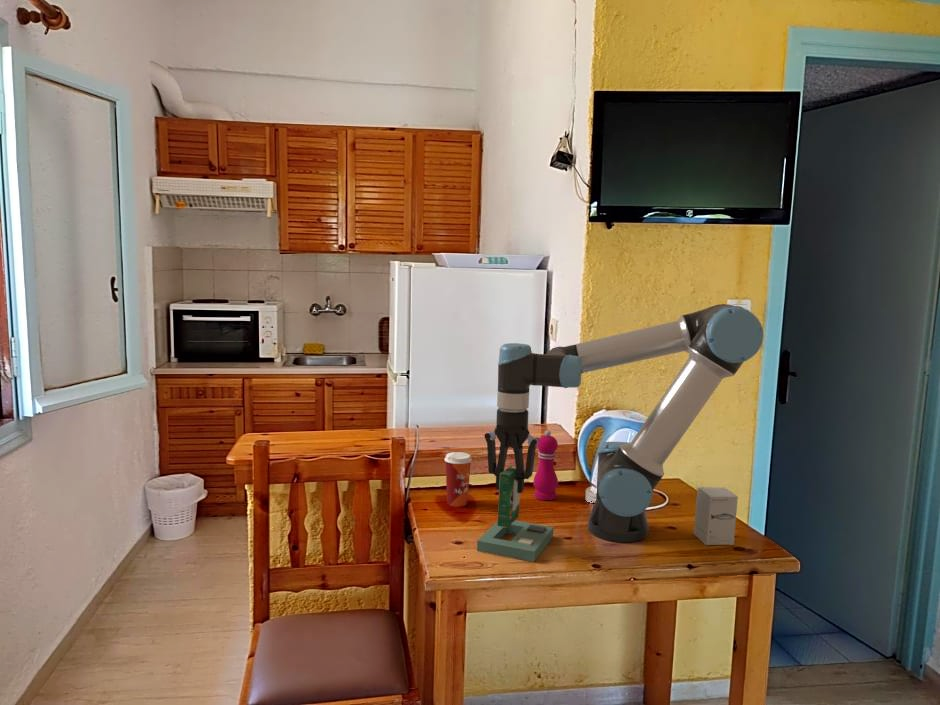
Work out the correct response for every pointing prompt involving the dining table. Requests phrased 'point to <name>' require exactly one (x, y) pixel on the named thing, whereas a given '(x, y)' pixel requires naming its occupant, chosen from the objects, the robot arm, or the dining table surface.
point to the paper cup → (457, 478)
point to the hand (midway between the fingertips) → (509, 503)
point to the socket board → (516, 540)
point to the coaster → (590, 495)
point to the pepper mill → (546, 468)
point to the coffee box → (507, 498)
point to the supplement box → (715, 515)
